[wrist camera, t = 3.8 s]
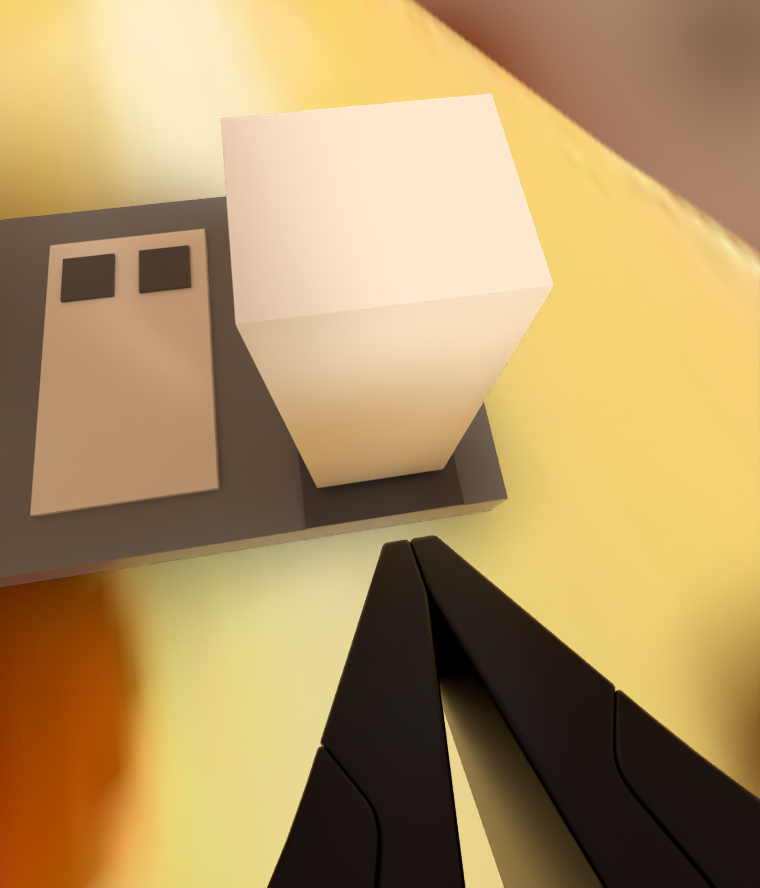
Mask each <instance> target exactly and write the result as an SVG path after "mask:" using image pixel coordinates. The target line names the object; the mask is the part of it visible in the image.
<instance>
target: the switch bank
mask: <svg viewBox="0 0 760 888" xmlns="http://www.w3.org/2000/svg"><path fill="white" fill-rule="evenodd" d="M506 499H508V498H507V494H506V490H505V486H504V482H503V478H502V474H501V470H500V466H499V461H498V457H497V453H496V449H495V445H494V441H493V437H492V433H491V429H490V425H489V421H488V417H487V413H486V409H485V405H484V402H483V404H482V405H481V407H480V409H479V410H478V412H477V414H476V415H475V417H474V419H473V420H472V422H471V424H470V425H469V427H468V429H467V430H466V432H465V434H464V435H463V437H462V439H461V440H460V442H459V444H458V445H457V447H456V449H455V450H454V452H453V454H452V455H451V457H450V459H449V460H448V462H447V464H446V465H445V467H444V469H442V470H435V471H428V472H422V473H415V474H408V475H402V476H395V477H388V478H382V479H375V480H368V481H362V482H355V483H348V484H342V485H335V486H328V487H322V488H317V486H316V484H315V482H314V480H313V478H312V476H311V474H310V472H309V470H308V468H307V466H306V464H305V462H304V460H303V458H302V456H301V454H300V452H299V450H298V448H297V446H296V444H295V442H294V440H293V438H292V436H291V434H290V432H289V430H288V428H287V426H286V424H285V422H284V420H283V418H282V416H281V414H280V412H279V410H278V408H277V406H276V404H275V402H274V400H273V398H272V396H271V394H270V392H269V390H268V388H267V386H266V384H265V382H264V380H263V378H262V376H261V374H260V372H259V370H258V368H257V366H256V364H255V362H254V360H253V358H252V356H251V354H250V352H249V350H248V348H247V346H246V344H245V342H244V340H243V338H242V336H241V334H240V332H239V330H238V328H237V326H236V323H235V310H234V296H233V282H232V268H231V254H230V240H229V226H228V212H227V198H226V197H217V198H208V199H198V200H188V201H179V202H169V203H160V204H150V205H140V206H131V207H121V208H112V209H102V210H92V211H83V212H73V213H64V214H54V215H44V216H35V217H25V218H15V219H6V220H0V587H7V586H13V585H19V584H26V583H32V582H38V581H45V580H51V579H57V578H64V577H70V576H76V575H83V574H89V573H96V572H102V571H108V570H115V569H121V568H127V567H134V566H140V565H146V564H153V563H159V562H165V561H172V560H178V559H184V558H191V557H197V556H204V555H210V554H216V553H223V552H229V551H235V550H242V549H248V548H254V547H261V546H267V545H273V544H280V543H286V542H293V541H299V540H305V539H312V538H318V537H324V536H331V535H337V534H343V533H350V532H356V531H362V530H369V529H375V528H381V527H388V526H394V525H401V524H407V523H413V522H420V521H426V520H432V519H439V518H445V517H451V516H458V515H464V514H470V513H477V512H483V511H489V510H491V509H493V508H494V507H496V506H497V505H499V504H500V503H502V502H503V501H505V500H506Z"/></svg>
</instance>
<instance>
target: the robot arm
mask: <svg viewBox="0 0 760 888" xmlns="http://www.w3.org/2000/svg"><path fill="white" fill-rule="evenodd" d="M443 709H444V712H445V715H446V718H447V721H448V724H449V727H450V730H451V733H452V736H453V739H454V742H455V745H456V747H457V750H458V753H459V756H460V759H461V762H462V765H463V768H464V771H465V774H466V777H467V780H468V783H469V786H470V789H471V791H472V794H473V797H474V800H475V803H476V806H477V809H478V812H479V815H480V818H481V821H482V824H483V827H484V830H485V833H486V835H487V838H488V841H489V844H490V847H491V850H492V853H493V856H494V859H495V862H496V865H497V868H498V871H499V874H500V877H501V879H502V882H503V885H504V888H760V799H759V798H758V797H757V796H755V795H754V794H752V793H751V792H750V791H748V790H747V789H746V788H744V787H743V786H742V785H740V784H739V783H738V782H736V781H735V780H734V779H732V778H731V777H730V776H728V775H727V774H726V773H724V772H723V771H721V770H720V769H719V768H717V767H716V766H715V765H713V764H712V763H711V762H709V761H708V760H707V759H705V758H704V757H703V756H701V755H700V754H699V753H697V752H696V751H695V750H694V749H692V748H691V747H690V746H689V745H687V744H686V743H685V742H684V741H682V740H681V739H680V738H679V737H677V736H676V735H675V734H674V733H672V732H671V731H670V730H669V729H667V728H666V727H665V726H664V725H662V724H661V723H660V722H659V721H657V720H656V719H655V718H654V717H652V716H651V715H650V714H649V713H648V712H646V711H645V710H644V709H643V708H642V707H640V706H639V705H638V704H637V703H636V702H634V701H633V700H632V699H631V698H630V697H628V696H627V695H626V694H625V693H624V692H622V691H621V690H617V691H616V692H615V686H614V684H613V683H611V682H610V681H609V680H608V679H607V678H605V677H604V676H603V675H602V674H601V673H599V672H598V671H597V670H596V669H595V668H593V667H592V666H591V665H590V664H589V663H587V662H586V661H585V660H584V659H583V658H581V657H580V656H579V655H578V654H577V653H575V652H574V651H573V650H572V649H571V648H569V647H568V646H567V645H566V644H565V643H564V642H562V641H561V640H560V639H559V638H558V637H556V636H555V635H554V634H553V633H552V632H550V631H549V630H548V629H547V628H546V627H544V626H543V625H542V624H541V623H540V622H538V621H537V620H536V619H535V618H534V617H532V616H531V615H530V614H529V613H528V612H526V611H525V610H524V609H523V608H522V607H521V606H519V605H518V604H517V603H516V602H515V601H513V600H512V599H511V598H510V597H509V596H507V595H506V594H505V593H504V592H503V591H501V590H500V589H499V588H498V587H497V586H495V585H494V584H493V583H492V582H491V581H489V580H488V579H487V578H486V577H485V576H483V575H482V574H481V573H480V572H479V571H477V570H476V569H475V568H474V567H473V566H472V565H470V564H469V563H468V562H467V561H466V560H464V559H463V558H462V557H461V556H460V555H458V554H457V553H456V552H455V551H454V550H452V549H451V548H450V547H449V546H448V545H446V544H445V543H444V542H443V541H442V540H440V539H439V538H438V537H436V536H426V537H419V538H414V539H412V540H411V542H409V541H407V540H401V541H394V542H388V543H385V544H384V545H383V547H382V550H381V553H380V556H379V560H378V563H377V566H376V569H375V572H374V575H373V578H372V581H371V585H370V588H369V591H368V594H367V597H366V600H365V603H364V606H363V610H362V613H361V616H360V619H359V622H358V625H357V628H356V631H355V635H354V638H353V641H352V644H351V647H350V650H349V653H348V656H347V660H346V663H345V666H344V669H343V672H342V675H341V678H340V681H339V685H338V688H337V691H336V694H335V697H334V700H333V703H332V706H331V710H330V713H329V716H328V719H327V722H326V725H325V728H324V731H323V735H322V738H321V746H322V747H319V748H318V749H317V752H316V755H315V758H314V762H313V765H312V768H311V771H310V774H309V777H308V780H307V783H306V786H305V789H304V792H303V795H302V798H301V800H300V803H299V806H298V809H297V812H296V815H295V817H294V820H293V823H292V826H291V829H290V832H289V834H288V837H287V840H286V842H285V845H284V847H283V850H282V852H281V855H280V857H279V860H278V862H277V865H276V867H275V869H274V872H273V874H272V877H271V879H270V882H269V884H268V887H267V888H465V880H464V872H463V864H462V856H461V848H460V840H459V833H458V825H457V817H456V809H455V801H454V793H453V785H452V777H451V769H450V761H449V753H448V745H447V737H446V729H445V721H444V713H443Z"/></svg>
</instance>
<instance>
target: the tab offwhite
mask: <svg viewBox="0 0 760 888" xmlns="http://www.w3.org/2000/svg"><path fill="white" fill-rule="evenodd" d="M221 129H222V143H223V157H224V171H225V184H226V198H227V212H228V226H229V240H230V254H231V268H232V282H233V296H234V310H235V323H236V326H237V328H238V330H239V332H240V334H241V336H242V338H243V340H244V342H245V344H246V346H247V348H248V350H249V352H250V354H251V356H252V358H253V360H254V362H255V364H256V366H257V368H258V370H259V372H260V374H261V376H262V378H263V380H264V382H265V384H266V386H267V388H268V390H269V392H270V394H271V396H272V398H273V400H274V402H275V404H276V406H277V408H278V410H279V412H280V414H281V416H282V418H283V420H284V422H285V424H286V426H287V428H288V430H289V432H290V434H291V436H292V438H293V440H294V442H295V444H296V446H297V448H298V450H299V452H300V454H301V456H302V458H303V460H304V462H305V464H306V466H307V468H308V470H309V472H310V474H311V476H312V478H313V480H314V482H315V484H316V486H317V488H322V487H328V486H335V485H342V484H348V483H355V482H362V481H368V480H375V479H382V478H388V477H395V476H402V475H408V474H415V473H422V472H428V471H435V470H442V469H444V467H445V465H446V464H447V462H448V460H449V459H450V457H451V455H452V454H453V452H454V450H455V449H456V447H457V445H458V444H459V442H460V440H461V439H462V437H463V435H464V434H465V432H466V430H467V429H468V427H469V425H470V424H471V422H472V420H473V419H474V417H475V415H476V414H477V412H478V410H479V409H480V407H481V405H482V404H483V402H484V400H485V399H486V397H487V395H488V394H489V392H490V390H491V389H492V387H493V385H494V384H495V382H496V380H497V379H498V377H499V375H500V374H501V372H502V370H503V369H504V367H505V365H506V364H507V362H508V360H509V359H510V357H511V355H512V354H513V352H514V350H515V349H516V347H517V345H518V344H519V342H520V341H521V339H522V337H523V336H524V334H525V332H526V331H527V329H528V327H529V326H530V324H531V322H532V321H533V319H534V317H535V316H536V314H537V312H538V311H539V309H540V307H541V306H542V304H543V302H544V301H545V299H546V297H547V296H548V294H549V292H550V291H551V289H552V287H553V286H554V285H553V282H552V279H551V276H550V272H549V269H548V266H547V263H546V260H545V257H544V254H543V251H542V248H541V245H540V242H539V239H538V235H537V232H536V229H535V226H534V223H533V220H532V217H531V214H530V211H529V208H528V205H527V202H526V199H525V195H524V192H523V189H522V186H521V183H520V180H519V177H518V174H517V171H516V168H515V165H514V162H513V158H512V155H511V152H510V149H509V146H508V143H507V140H506V137H505V134H504V131H503V128H502V125H501V121H500V118H499V115H498V112H497V109H496V106H495V103H494V100H493V97H492V94H481V95H470V96H459V97H448V98H437V99H427V100H416V101H405V102H394V103H383V104H372V105H362V106H351V107H340V108H329V109H318V110H307V111H296V112H286V113H275V114H264V115H253V116H242V117H231V118H221Z"/></svg>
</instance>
